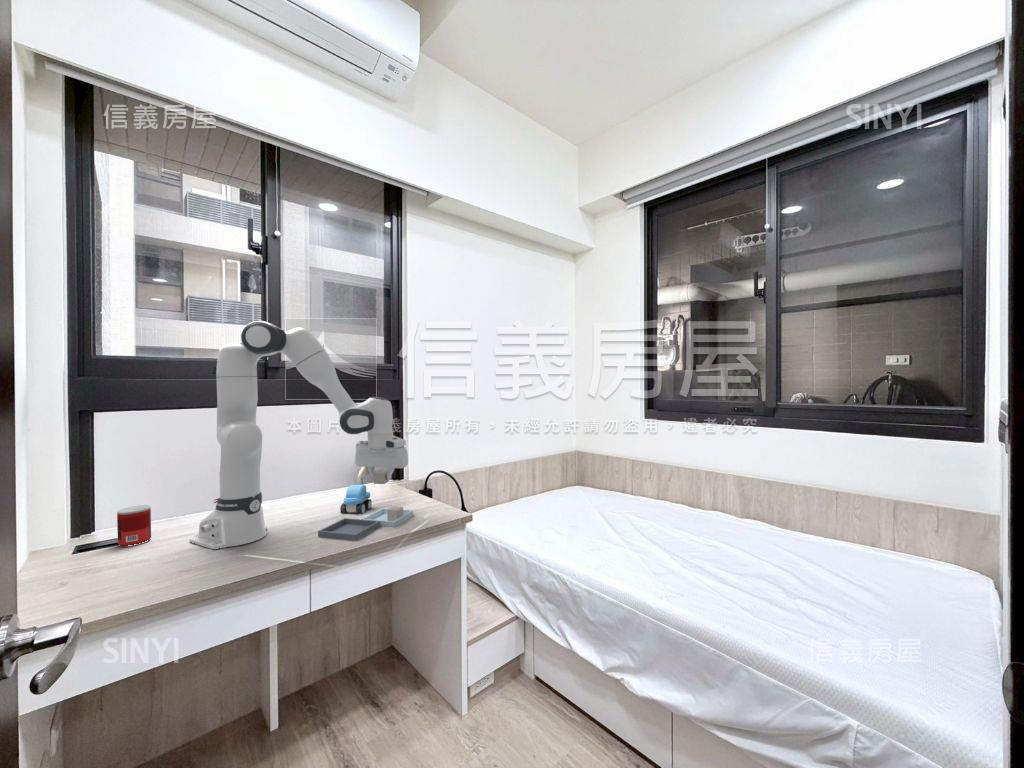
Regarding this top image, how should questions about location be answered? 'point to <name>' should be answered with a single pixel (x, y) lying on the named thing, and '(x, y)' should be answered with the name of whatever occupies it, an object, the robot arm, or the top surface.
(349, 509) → the toy excavator
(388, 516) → the grey cube
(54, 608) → the top surface
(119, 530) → the canned food
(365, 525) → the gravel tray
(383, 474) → the tan cube
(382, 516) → the blue tray
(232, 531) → the robot arm
